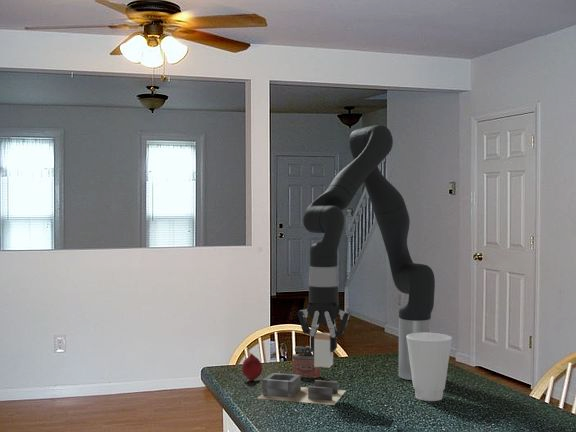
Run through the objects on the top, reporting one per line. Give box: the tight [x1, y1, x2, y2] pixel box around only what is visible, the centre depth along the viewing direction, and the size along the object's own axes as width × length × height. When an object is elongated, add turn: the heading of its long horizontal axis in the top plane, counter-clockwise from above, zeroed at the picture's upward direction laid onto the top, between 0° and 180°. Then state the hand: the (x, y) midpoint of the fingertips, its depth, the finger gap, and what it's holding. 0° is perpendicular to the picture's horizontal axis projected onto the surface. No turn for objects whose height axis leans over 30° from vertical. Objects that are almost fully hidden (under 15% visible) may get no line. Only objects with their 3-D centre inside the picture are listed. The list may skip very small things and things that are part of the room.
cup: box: [406, 332, 453, 402], centre depth 185 cm, size 12×12×16 cm
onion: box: [241, 352, 263, 382], centre depth 202 cm, size 6×6×8 cm
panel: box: [256, 372, 347, 406], centre depth 182 cm, size 20×14×6 cm
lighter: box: [291, 345, 321, 379], centre depth 202 cm, size 8×3×10 cm, turn 84°
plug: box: [314, 331, 334, 369], centre depth 180 cm, size 4×4×8 cm
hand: (323, 350), depth 181 cm, fingers closed on plug, 4 cm apart
